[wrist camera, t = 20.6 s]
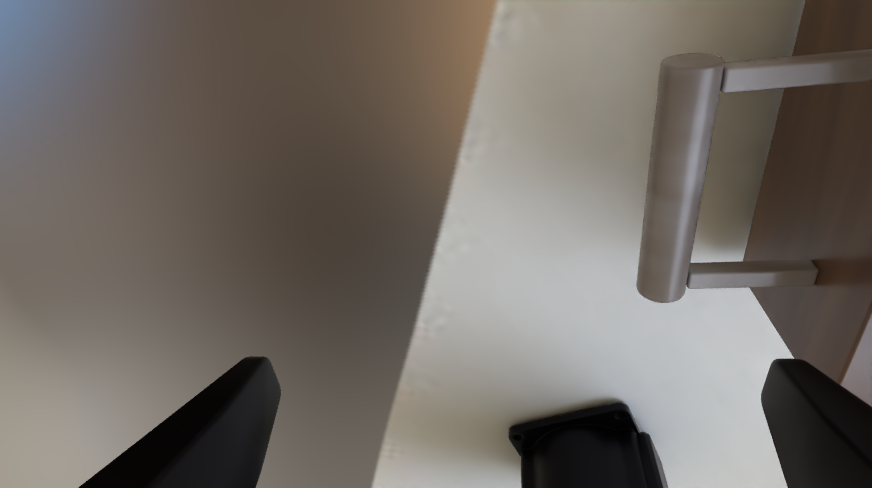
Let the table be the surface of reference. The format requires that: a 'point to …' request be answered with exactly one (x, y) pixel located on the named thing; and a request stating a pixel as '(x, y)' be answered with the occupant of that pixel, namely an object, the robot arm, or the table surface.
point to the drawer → (779, 189)
